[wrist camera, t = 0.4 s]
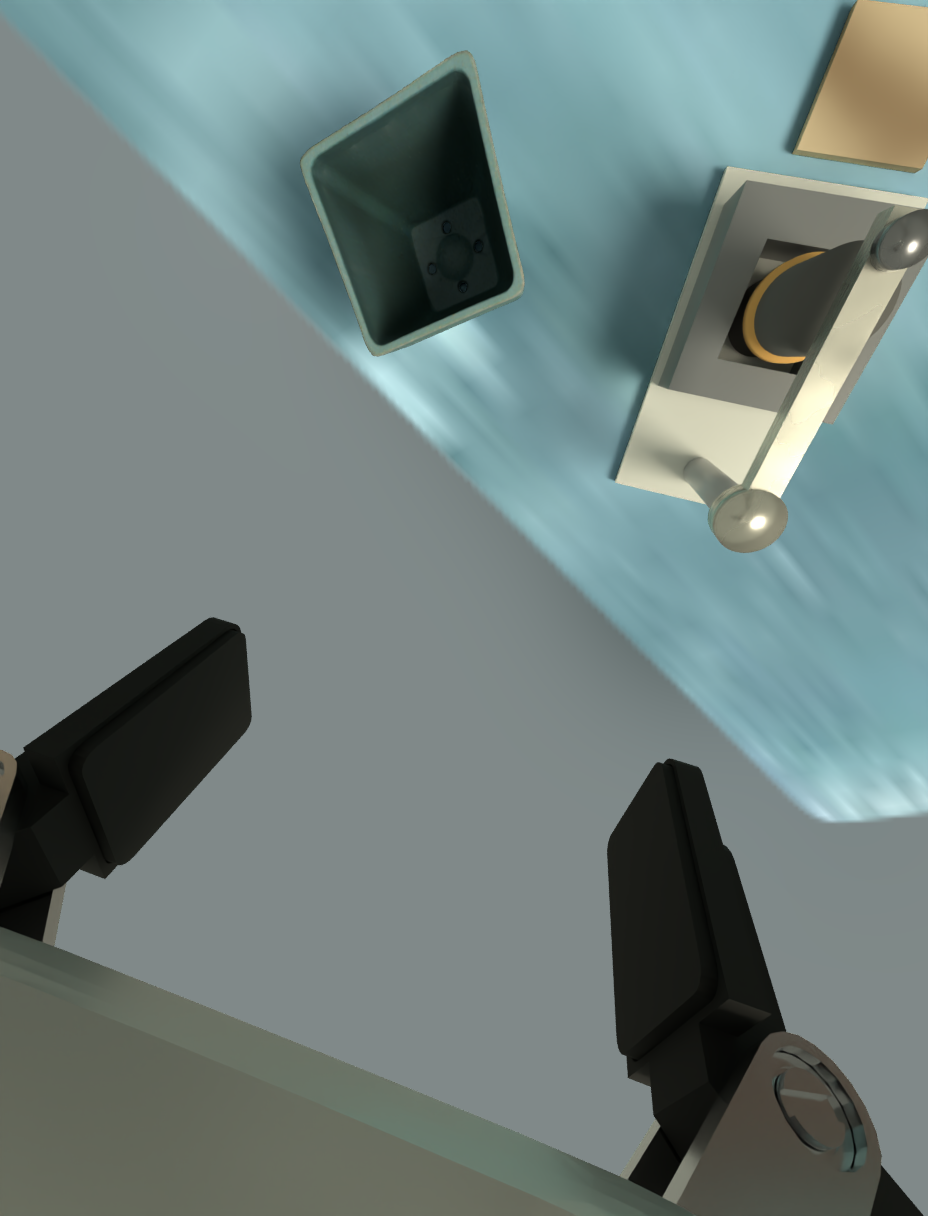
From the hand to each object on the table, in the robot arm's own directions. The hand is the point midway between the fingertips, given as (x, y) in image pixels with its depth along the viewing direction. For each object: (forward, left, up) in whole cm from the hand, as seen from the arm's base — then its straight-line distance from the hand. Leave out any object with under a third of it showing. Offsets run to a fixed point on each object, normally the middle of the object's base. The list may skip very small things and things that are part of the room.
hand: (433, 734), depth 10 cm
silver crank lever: (-7, +11, -17) cm, 22 cm away
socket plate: (-9, +11, -28) cm, 31 cm away
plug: (-11, +11, -27) cm, 32 cm away
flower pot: (-11, -8, -28) cm, 32 cm away
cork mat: (-21, +12, -28) cm, 37 cm away
